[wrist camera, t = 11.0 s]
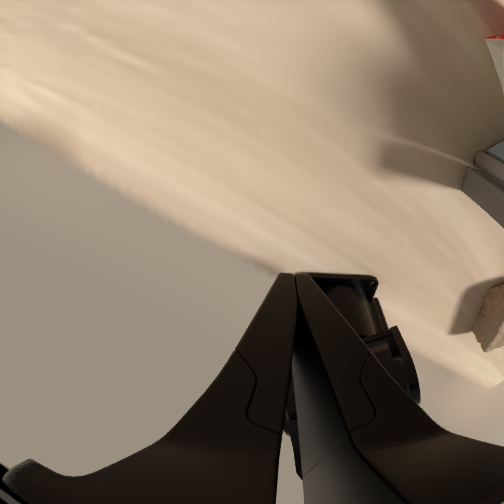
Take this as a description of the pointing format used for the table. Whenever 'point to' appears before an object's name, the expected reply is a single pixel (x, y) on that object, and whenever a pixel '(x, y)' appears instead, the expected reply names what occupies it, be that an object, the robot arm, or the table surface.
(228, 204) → the table surface
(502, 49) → the red white patterned box
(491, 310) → the brick
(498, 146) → the door
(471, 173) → the door frame
